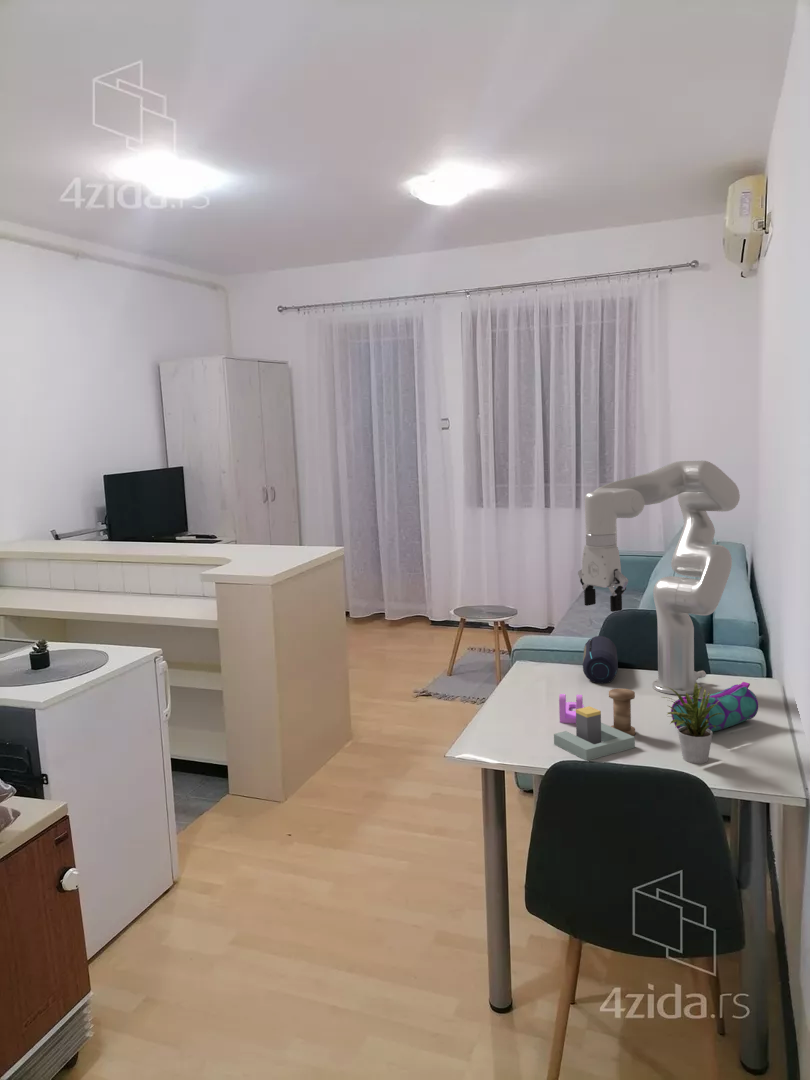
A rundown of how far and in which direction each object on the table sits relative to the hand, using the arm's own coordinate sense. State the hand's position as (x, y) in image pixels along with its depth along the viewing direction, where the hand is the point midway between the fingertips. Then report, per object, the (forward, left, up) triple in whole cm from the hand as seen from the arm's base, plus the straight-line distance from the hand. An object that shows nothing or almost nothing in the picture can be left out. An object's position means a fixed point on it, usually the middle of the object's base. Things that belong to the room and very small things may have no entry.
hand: (602, 607), depth 193 cm
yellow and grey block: (+16, +13, -28) cm, 35 cm away
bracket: (+7, -5, -28) cm, 30 cm away
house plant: (+2, +31, -28) cm, 42 cm away
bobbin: (+5, +12, -28) cm, 31 cm away
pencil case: (-16, +21, -28) cm, 39 cm away
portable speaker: (-23, -28, -28) cm, 46 cm away
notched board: (+16, +14, -28) cm, 35 cm away
